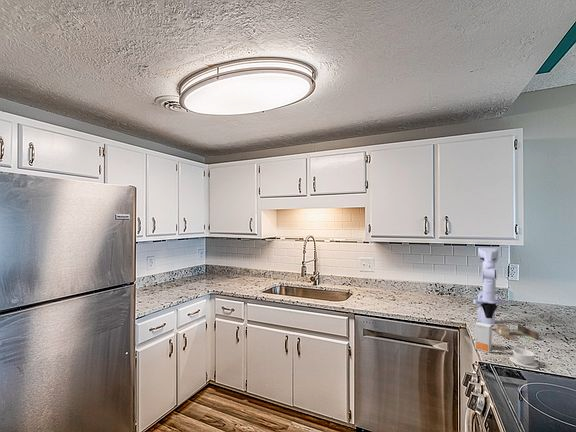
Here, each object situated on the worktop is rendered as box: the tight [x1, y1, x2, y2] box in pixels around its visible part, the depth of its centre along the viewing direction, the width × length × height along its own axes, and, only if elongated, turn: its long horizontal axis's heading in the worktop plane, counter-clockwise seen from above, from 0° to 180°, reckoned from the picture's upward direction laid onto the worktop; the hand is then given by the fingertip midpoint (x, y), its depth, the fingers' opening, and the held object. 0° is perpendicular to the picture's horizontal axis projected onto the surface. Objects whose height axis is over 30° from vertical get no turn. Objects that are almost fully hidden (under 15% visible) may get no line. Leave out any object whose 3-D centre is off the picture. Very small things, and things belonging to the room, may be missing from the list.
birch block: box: [495, 323, 510, 336], centre depth 160 cm, size 4×4×4 cm
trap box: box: [492, 323, 539, 341], centre depth 160 cm, size 14×15×4 cm
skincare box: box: [474, 321, 493, 354], centre depth 143 cm, size 6×4×12 cm
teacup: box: [508, 348, 540, 369], centre depth 131 cm, size 10×10×5 cm
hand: (488, 317), depth 161 cm, fingers closed
